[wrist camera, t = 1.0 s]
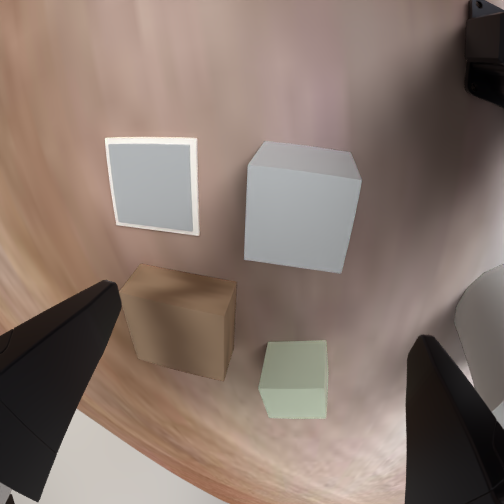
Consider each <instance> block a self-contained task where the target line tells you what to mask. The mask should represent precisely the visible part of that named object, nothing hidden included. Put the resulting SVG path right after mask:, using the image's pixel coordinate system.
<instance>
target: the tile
mask: <svg viewBox="0 0 504 504" xmlns="http://www.w3.org/2000/svg"><path fill="white" fill-rule="evenodd" d="M105 145H106V155H107V164H108V172H109V180H110V187H111V194H112V200H113V207H114V213H115V219H116V224H117V225H120V226H128V227H136V228H143V229H151V230H158V231H166V232H173V233H181V234H188V235H195V236H199V235H200V227H199V200H198V156H197V138H181V137H114V138H105Z"/></svg>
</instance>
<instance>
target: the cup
mask: <svg viewBox="0 0 504 504" xmlns="http://www.w3.org/2000/svg"><path fill="white" fill-rule="evenodd" d="M454 324H455V326H456V329H457V332H458V335H459V338H460V341H461V344H462V347H463V350H464V353H465V356H466V359H467V362H468V366H469V369H470V372H471V376H472V379H473V383H474V387H475V390H476V391H477V392H478V394H479V395H480V396H481V398H482V399H483V401H484V402H485V403H486V405H487V406H488V407H489V409H490V410H491V412H492V413H493V415H494V416H495V417H496V419H497V420H496V421H498V422H499V423H500V424H501V426H502V427H503V429H504V264H502V265H499V266H497V267H495V268H493V269H491V270H489V271H487V272H484V273H483V274H482V275H481V276H480V277H479V278H478V279H477V280H476V281H474V282H473V283H472V284H471V285H470V286H469V287H468V288H467V289H466V291H465V292H464V294H463V296H462V298H461V299H460V301H459V303H458V304H457V306H456V312H455V320H454Z"/></svg>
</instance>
